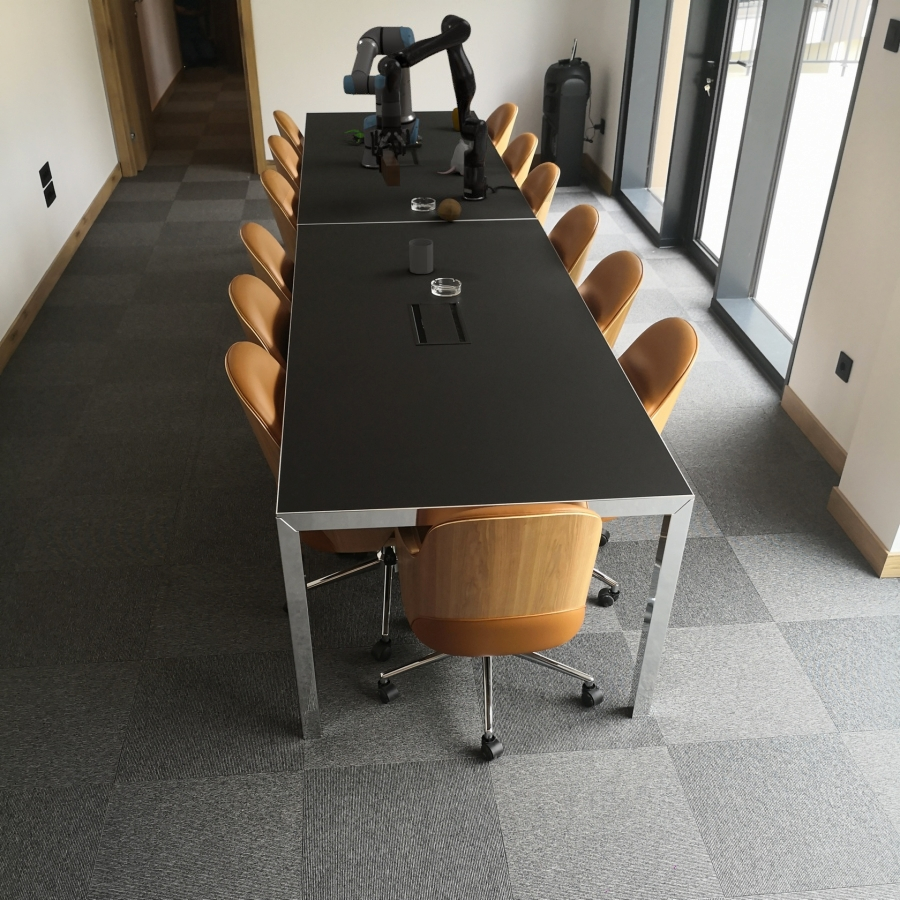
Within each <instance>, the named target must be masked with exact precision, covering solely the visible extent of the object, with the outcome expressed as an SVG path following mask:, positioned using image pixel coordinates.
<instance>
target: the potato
mask: <svg viewBox="0 0 900 900" xmlns="http://www.w3.org/2000/svg"><path fill="white" fill-rule="evenodd" d="M461 212H462V205H461V204H460V203H459V202H458V201H457V200H456V199H453V198H445V199H443V200H442V201H441V202H440V203H439V204H438V207H437V215H438V216H439V217H440V218H441V219H442V220H444V221H447V222H454V221H456V220H457V219H458V218H460V215H461Z"/></svg>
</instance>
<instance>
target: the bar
mask: <svg viewBox="0 0 900 900" xmlns="http://www.w3.org/2000/svg"><path fill="white" fill-rule="evenodd" d="M379 156H380V157H381V155H380V154H379ZM400 166H401V165H400V163H399V161H397V160H396V158H395V156H394V152H393V150H390V151H383V157H381V173H380V174H381V176H382V178H383V180H384V183H385V184H386V187H401V171H400V168H401V167H400Z"/></svg>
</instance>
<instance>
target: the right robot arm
mask: <svg viewBox="0 0 900 900" xmlns="http://www.w3.org/2000/svg"><path fill="white" fill-rule="evenodd" d="M471 34H472V26H471V24H470V22H469V21H468V20H467V19H465V18H463V17H461V16H458V15H456V14H447V15H445V16H444V17H443V18H442V20H441V23H440V33H439V34H437V35H434V36H430V37H427V38H424V39H419V40H417V41H415V42H414V43H413V44H411V45H409V46H407V47H406V48H404V49H402V50H400V51H398V52H395V53H392V54H389V55H384V56H383V57H382V58H381V59H380V60H379V61H378V63H377V72H378V74H381V75H382V76H384V77H385V85H383V86H382V89H381V97H382V105H381V113H382V129H381V130H377V129H374V144H375V146H378V147H379V154H380V155H381V157H383V147H382V146H383V144H384V143H385V142H386V141H387V140H388V141H392V140H393V141H396V140H399V141H400V142H401V147H402V154H401V156H402V157H405V155H406V154H407V148H406V147H407V146H408V145H409V146H410V145H411V144H410V133H409V129H408V128H406V129H402V128H401V107H400V93H399V88H400V84H401V78H402V69H403V68H410V69H411V68H412V67H414V66H416V65H417V64H419V63H421V62H423V61H424V60H426V59H428V58H430V57H432V56H435V55H437V54H438V53H441V52H444V51H445V52H446V54H447V59H448V64H449V69H450V74H451V75H450V76H451V81H452V87H453V91H454V96H455V101H456V108H457V109H458V119H459V129H460V131H459V134H460V137H461V139H462V140H463V141H468V142H470V141H471V143H472V142H473V145H472V147H471V149H467V150H465V151H464V175H463V193H462V198H463V199H464V200H466V201H470V202H471V201H473V202H474V201H475V202H476V201H477V202H478V201H482V200H485V199H486V198H487V191H489V189H490V190H491V192H492V193H496V191H497V189H501V188H504V189H513V190H519V187H518V186H511V185H497V186H494V188H493V187H492V186H491V185H489V183H488V182H487V180H488V179H487V177H488V176H487V175H486V153H487V149H488V137H489V127H488V122H487V121H486V120H484V119H480V118H475V117H472V111H471V105H472V101H473V99H474V97H475V94H476V91H477V83H476V76H475V71H474V69H473V67H472V64H471V62H470V60H469V58H468V56H467V53H466V52H465V49H464V45H463V44H464V43H465V42H467V41H468V40H469V39H470V36H471ZM470 111H471V112H470ZM402 132H404V134H405V135H406V141H405V142H404V141H403V139H402V138H401V137H400V135H401V134H402ZM380 133H382V134H383V138H382V139H381V141H380V143H379V142H378V136H379V135H380Z"/></svg>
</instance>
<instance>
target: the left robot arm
mask: <svg viewBox="0 0 900 900" xmlns="http://www.w3.org/2000/svg"><path fill="white" fill-rule="evenodd" d="M415 38H416V37H415V34H414V31H413V29H412V28H411V27H409V26H403V25H402V26H381V25H380V26H374V27H372V28H369V29H368V30H366V31H365V32H364V33H363V34H362V35H361V36H360V37H359V39H358V41H357V43H356V55H355V59H354V62H353V67H352V70H351V73H350V74H346V75H344V76H343V80H342V87H343V92H344V94H346V95H353V96H375V98H374V99H375V114H371V115H368V116H366V117H365V118H364V119H363V133H364V151H363V154H362V159H361V166H362V167H363V168H366V169H371V170H378V173H379V174H381V157H380V156H379V147H378V146H375V144H374V129H377V130H381V129H382V113H381V105H382V97H381V89H382V86H383V85H385V77H384V76H382V75H381V74H380V73H378V74H376V75H371V71H372V67H373V63H374V60H375V58H376V57H377V56H387V55H389V54H392V53H395V52H398V51H400V50H402V49H404V48H406V47H407V46H409V45H411V44H413V43H414V42H416V39H415ZM411 81H412V80H411V67H410V68H403V69H402V78H401V84H400V88H399V93H400V107H401V128H402V129H406V128H408V129H409V133H410V144H409V145H414V144H416V143H417V141H418V136H419V135H418V134H419V128H420V127H419V126H420V119H419V118H417V116H416V113H415V112H414V111H413V103H412V86H411V85H412V84H411V83H412V82H411ZM400 137H401V138H402V139H403V141H404V142H405V141H406V135H405V134H404V132H402V134H401V135H400ZM382 138H383V134H382V133H380V135H379V136H378V142H379V143H380V141H381V139H382ZM389 145H391V149H392V152H393V154H394V156H395V158H396V160H397V161H398V160H399V159H398V158H399V156H400V155H401V156H402V144H401V142H400V141H399V140H396V141H393V140H392V141H388V140H387V141H386V142H385V143H384V144H383V146H382V147H383V151H391V150H390V147H389ZM396 145H397V148H396ZM398 162H399V161H398Z"/></svg>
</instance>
